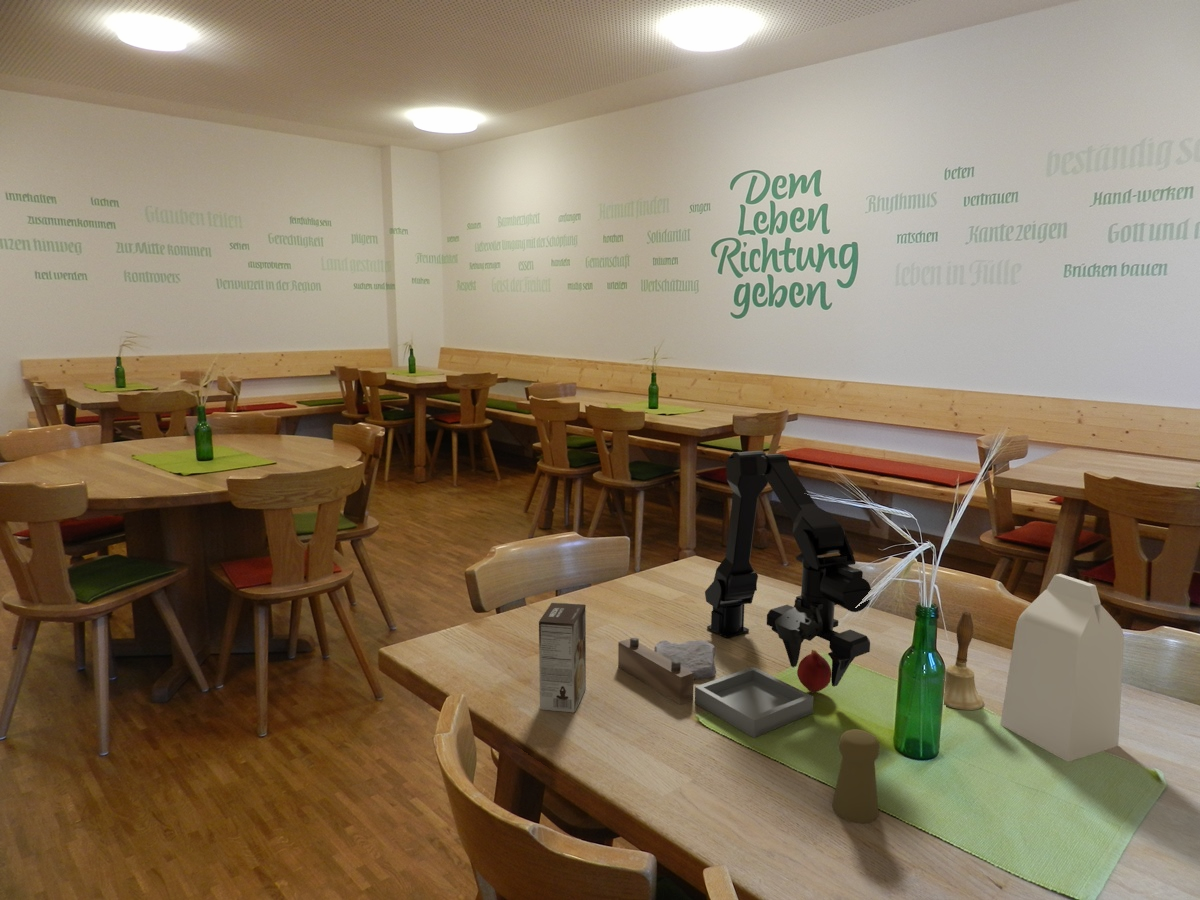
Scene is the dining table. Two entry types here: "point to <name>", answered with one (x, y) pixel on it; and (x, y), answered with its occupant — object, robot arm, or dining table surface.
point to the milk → (1066, 672)
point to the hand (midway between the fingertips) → (813, 675)
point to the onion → (814, 672)
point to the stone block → (691, 656)
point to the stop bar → (656, 670)
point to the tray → (753, 701)
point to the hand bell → (962, 672)
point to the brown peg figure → (857, 777)
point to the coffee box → (562, 656)
